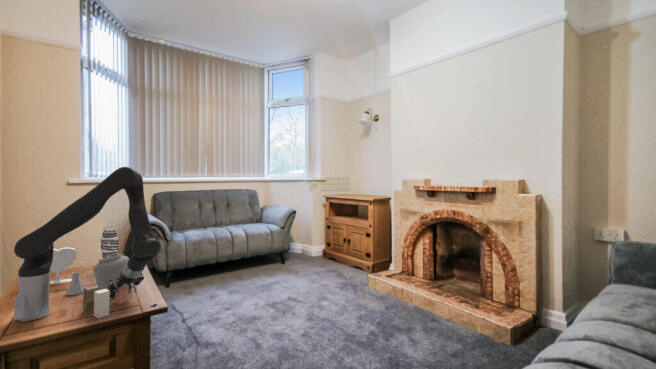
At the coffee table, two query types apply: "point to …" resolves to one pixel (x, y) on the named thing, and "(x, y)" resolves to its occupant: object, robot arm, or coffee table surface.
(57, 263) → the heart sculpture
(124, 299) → the terracotta pillar
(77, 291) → the flask
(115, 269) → the jar
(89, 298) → the walnut pillar
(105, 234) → the decorative candle
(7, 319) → the coffee table surface
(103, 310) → the cream pillar
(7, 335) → the coffee table surface
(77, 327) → the coffee table surface
